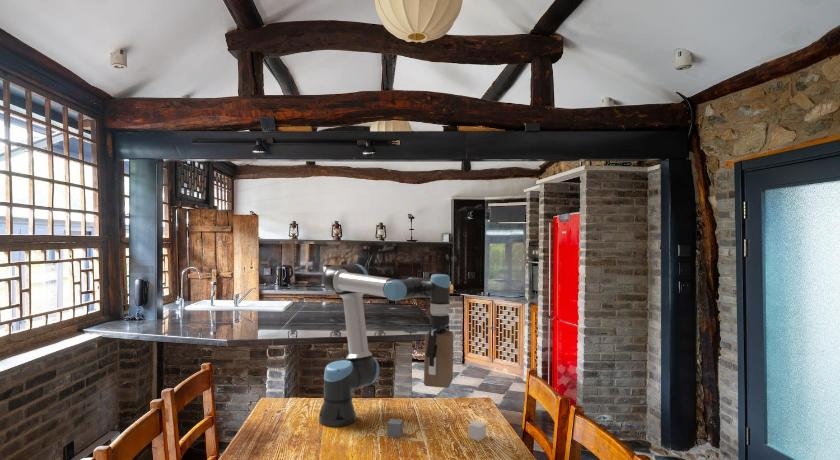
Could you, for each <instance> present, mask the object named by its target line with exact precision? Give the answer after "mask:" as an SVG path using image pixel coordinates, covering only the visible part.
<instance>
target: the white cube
mask: <svg viewBox="0 0 840 460" xmlns="http://www.w3.org/2000/svg"><path fill="white" fill-rule="evenodd" d="M467 431H468V432H467V438H469V439H473V440H476V441H478V442H479V441H482V440H483V439H484V438H486V437H487V424H486V423H484V422H481V421H478V420H473V421H472V422H471V423H469V424H468V425H467Z"/></svg>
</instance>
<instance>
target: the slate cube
mask: <svg viewBox="0 0 840 460" xmlns="http://www.w3.org/2000/svg"><path fill="white" fill-rule="evenodd" d="M386 427H387V428H386V437H391V438H393V437H394V438H401V437H402V434H403V433H404V432H403V431H404V419H399V418H397V419H396V418H390V419H389V420H388V422H387V425H386Z"/></svg>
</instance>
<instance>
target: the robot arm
mask: <svg viewBox="0 0 840 460" xmlns="http://www.w3.org/2000/svg"><path fill="white" fill-rule="evenodd" d="M321 277H322V278H321V280H322V281H321V282H322V284H323V286H324V288H325V289H326V290H328V291H331V292H335V293H338V295H339V297H340V298H341V299H342V301H343V310H344V319H345V328H346V338H347V348H348V354H347V355H346V357H345V359H342V360H335V361H331V362H329V363H327V365H326V366H325V368H324V372H323V373H324V374H323V402H322V406H321V409H320V412H319V414H318V422H319V424H321V425H323V426H326V427H344V426H348V425H351V424H353V423H355V421H356V419H357V412H356V411H355V406H354V402H353V391H355V390H358V389H361V388H364V387H368V386H370V385H372V384H374V383H375V382H376V381H377V380H378V378H379V375H380V365H379V362H378V361H377V359H375V358H374V357H373V353H372V352H371V351H370V350H369V345H368V336H367V328H366V319H365V317H366V316H365V309H364V308H365V307H364V301H363V296H364V295H370V296H375V297H383V298H386V299H388V300H389V301H396V302H397V301H401V300H407V299H414V298H426V299H430V307H429V308H430V309H429V313H430V315H429V324H430V325H432V327H433V328H432V329H429V330H428V332H429V340H428V346H427V353H426V357H429V374H431V375H436V357H435V355H436V351H437V345H435V342H436V335H437V334H443V332H446V331H450V315H449V314H450V310H451V306H450V305H451V304H450V303H451V302H450V296H451V295H450V293H451V277H450V276H449V274H443V273H442V274H441V273H439V274H438V273H435V274H431V276H430V278H421V277H417V276H416V277H408V278H406V279H397V278H390V277H383V276H375V275H370V274H368V270H367V269H366V268H365V267H364V266H363V265H361V264H357V263H346V264H333V265H329V267H327V268H326V269H325V270H324V271H323V273H322V276H321Z"/></svg>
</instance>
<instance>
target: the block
mask: <svg viewBox="0 0 840 460" xmlns="http://www.w3.org/2000/svg"><path fill="white" fill-rule="evenodd" d="M454 338H455V337H454V332H453V331H452V330H449V331H446V332H443V334H437V335H436V342H435V345H437V351H436V355H435V357H436V375H431V374H429V357H426V353H427V346H428V340H429V331H427V332H426V334H425V335H424V358H423V359H424V361H423V363H424V364H423V365H424V366H423V368H424V369H423V383H424V384H423V385H424V386H425V387H431V388H432V387H433V388H445V389H448V388H450V386H451V383H452V381H453V380H454V377H453V376H454V374H453V373H454V371H453V370H454Z"/></svg>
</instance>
